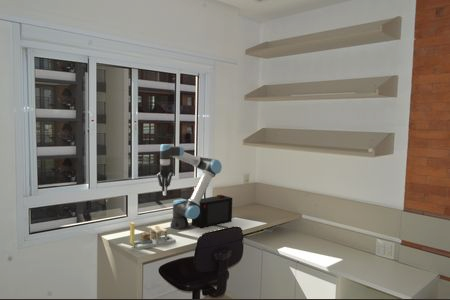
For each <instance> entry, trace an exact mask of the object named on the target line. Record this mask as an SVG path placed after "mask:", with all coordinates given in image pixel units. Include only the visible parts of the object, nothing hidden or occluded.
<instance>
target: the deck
mask: <svg viewBox="0 0 450 300" xmlns="http://www.w3.org/2000/svg"><path fill="white" fill-rule="evenodd" d="M151 240H152V241H153V242H151V243H145V244H141V243H139V244H133V245H132V246H133V247H134V248H135V249H136V250H137V251H138V249H139V250H144V249H148V248H149V249H150V248H153V247H154V248H155V247H159V246H165V245H169V244H173V243H176V239H175V238H173V237H172V236H171V235H169V234H167V241H166V242H165V235H161V237H158V243H156V238H153V239H151ZM137 241H138V240H134V242H137Z"/></svg>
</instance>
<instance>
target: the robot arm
mask: <svg viewBox="0 0 450 300" xmlns="http://www.w3.org/2000/svg"><path fill="white" fill-rule="evenodd" d="M159 153H160V154H159V163H160V164H159V172H158V173H157V174H156V177H157V179H158V180H157V181H158V185H159V186H160V187H161V191H162V196H167V191H168V187H170V185H171V182H172V179H173V175H174V173H172V172H171V158H173V159H177V160H179V161H182V162H184V163H187V164H189V165H192V166H193V167H194V168H196V169H199V170H200V171H202V174H201V177H200V179H199V181H198V182H197V184H196V187H195V188H194V190H193V192H192V194H191V196H190V198H188V199H186V198H185V199H183V198H181V199H175V200H173V203H172V219H171V221H170V228H172V230H173V229H174V230H186V229H188V228H189V222H188V221H189V220H192V219H195V218H197V217H198V215H199V214H200V208H199V207H200V201H201V199H202V198H204V195H205V193H206V192H207V189H208V187H209V185H210V184H211V183H210V182H211V181H212V179H213V178H215V177H216V175H217V174H220V173H221V171H222V168H223V167H222V166H223V165H222V163H221V161H220V160H219V159H215V158H208V157H202V156H200V155H199V156H197V155H193V154H190V153H188V152H185V149H184V147H183V146H175V145H171V144H170V143H169V144H168V143H167V144H166V143H164V144H163V143H162V144H160V149H159Z"/></svg>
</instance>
